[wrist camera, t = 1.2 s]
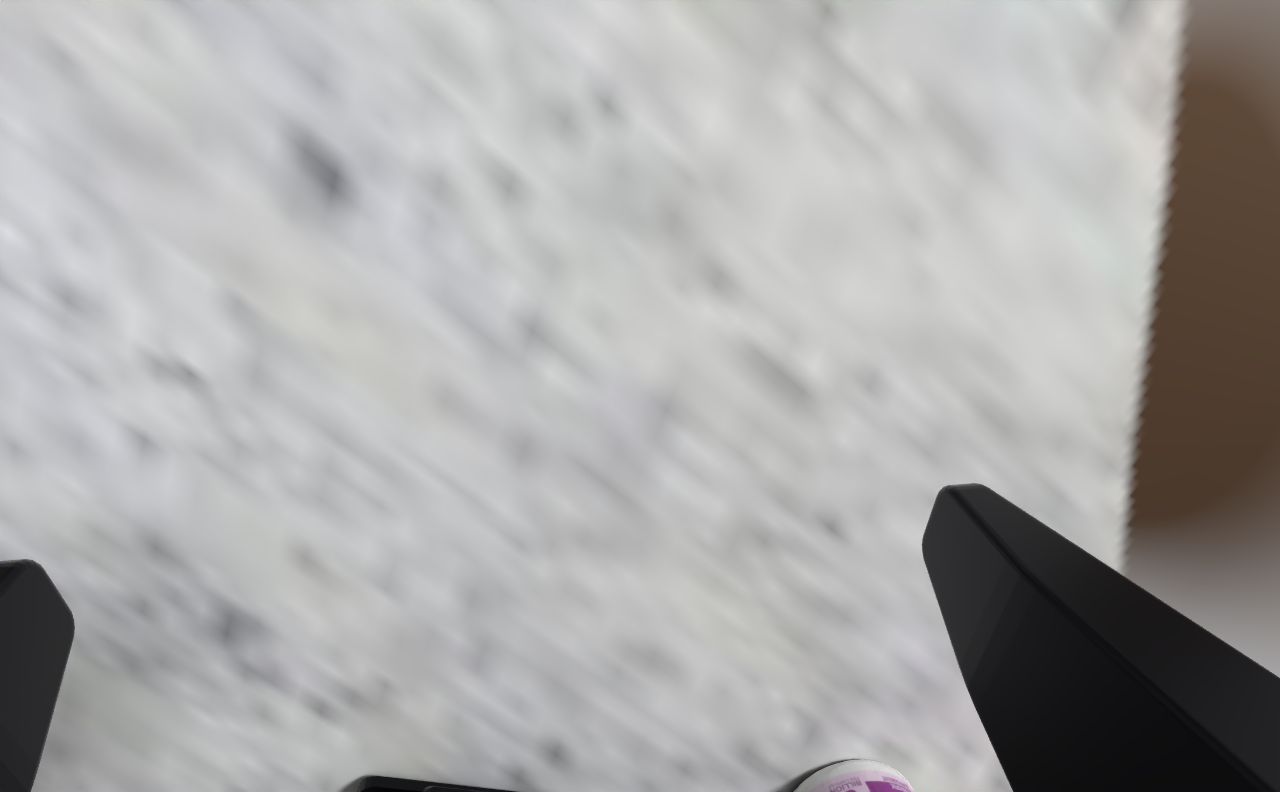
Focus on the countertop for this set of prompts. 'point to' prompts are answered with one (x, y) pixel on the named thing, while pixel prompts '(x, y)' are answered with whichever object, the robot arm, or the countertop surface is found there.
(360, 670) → the countertop surface
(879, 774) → the pill bottle
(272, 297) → the countertop surface
